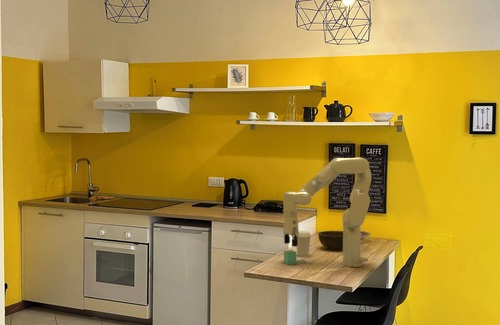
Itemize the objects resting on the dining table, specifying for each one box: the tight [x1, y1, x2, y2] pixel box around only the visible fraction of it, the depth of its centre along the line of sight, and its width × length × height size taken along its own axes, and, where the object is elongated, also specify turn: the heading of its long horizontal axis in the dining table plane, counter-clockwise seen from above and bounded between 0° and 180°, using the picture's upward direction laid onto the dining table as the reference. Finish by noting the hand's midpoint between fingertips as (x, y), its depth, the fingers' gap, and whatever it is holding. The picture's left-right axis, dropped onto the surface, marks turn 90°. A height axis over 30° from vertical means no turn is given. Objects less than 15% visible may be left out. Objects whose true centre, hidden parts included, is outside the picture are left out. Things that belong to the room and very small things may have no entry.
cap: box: [283, 249, 297, 265], centre depth 324 cm, size 5×5×7 cm
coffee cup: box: [296, 230, 312, 258], centre depth 344 cm, size 10×10×15 cm
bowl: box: [317, 230, 343, 251], centre depth 371 cm, size 22×22×10 cm
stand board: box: [282, 259, 312, 266], centre depth 325 cm, size 14×10×1 cm
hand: (290, 244), depth 324 cm, fingers open, 9 cm apart
